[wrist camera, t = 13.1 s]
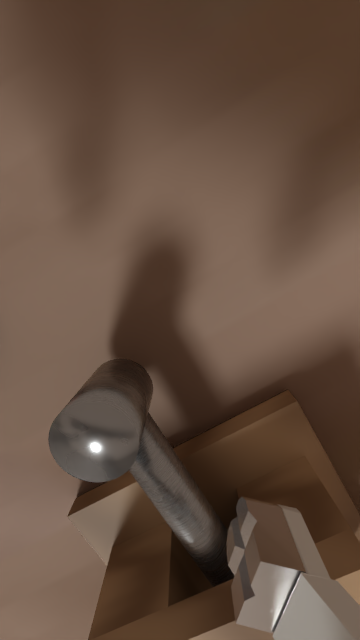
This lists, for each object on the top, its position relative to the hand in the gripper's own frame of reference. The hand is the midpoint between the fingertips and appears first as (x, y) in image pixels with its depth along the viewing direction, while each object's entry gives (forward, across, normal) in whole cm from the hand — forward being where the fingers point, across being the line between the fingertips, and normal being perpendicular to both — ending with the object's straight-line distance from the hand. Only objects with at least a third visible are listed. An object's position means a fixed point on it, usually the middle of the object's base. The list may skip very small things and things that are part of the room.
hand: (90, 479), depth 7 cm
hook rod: (+6, -7, +8) cm, 12 cm away
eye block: (+7, -7, +8) cm, 13 cm away
